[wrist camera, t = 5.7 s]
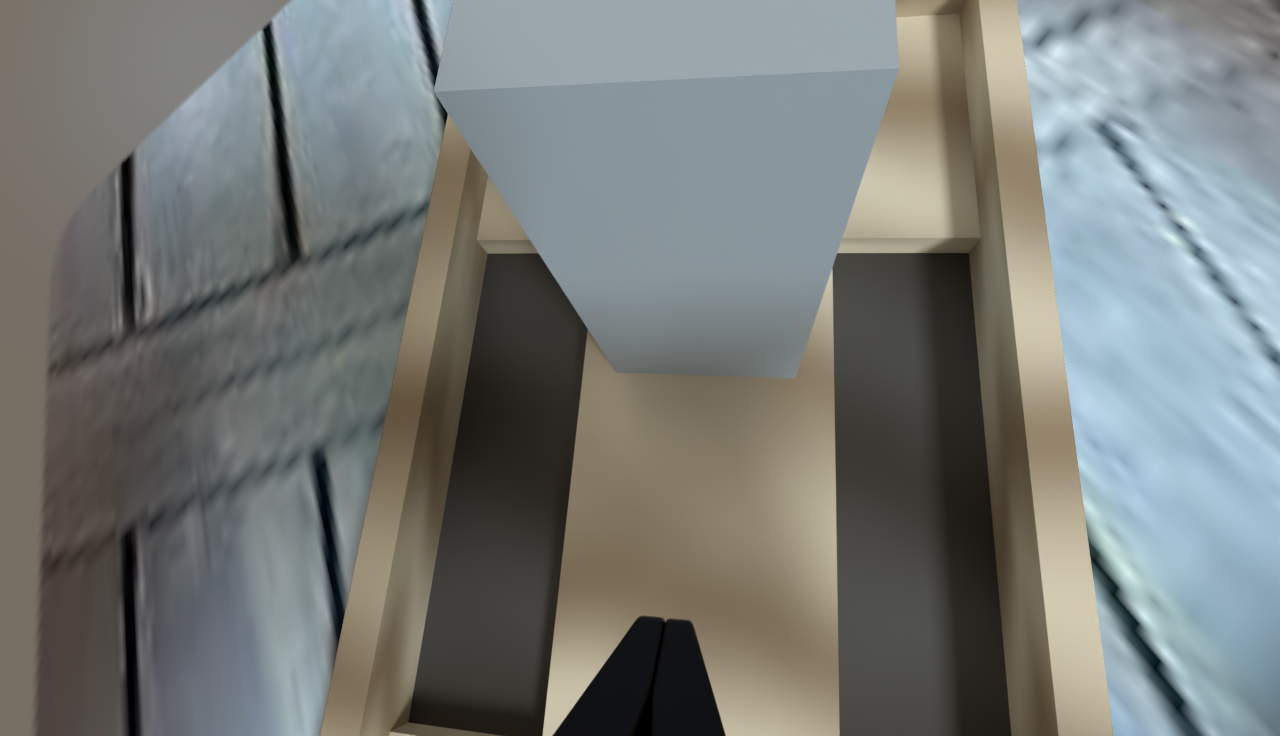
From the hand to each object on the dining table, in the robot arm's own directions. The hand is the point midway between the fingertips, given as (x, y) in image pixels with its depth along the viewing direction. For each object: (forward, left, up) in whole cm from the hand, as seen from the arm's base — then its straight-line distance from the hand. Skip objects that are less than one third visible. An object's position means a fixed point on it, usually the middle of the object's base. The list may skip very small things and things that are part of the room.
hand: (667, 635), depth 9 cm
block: (+9, +6, -6) cm, 13 cm away
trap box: (+4, +2, -7) cm, 8 cm away
